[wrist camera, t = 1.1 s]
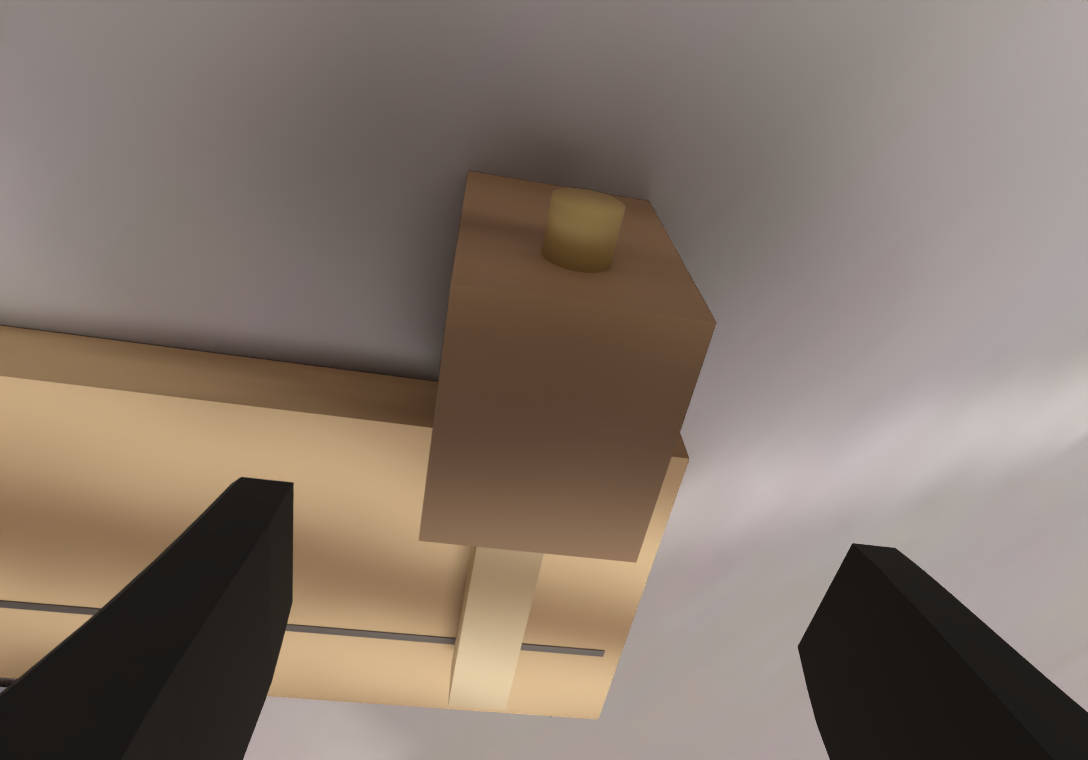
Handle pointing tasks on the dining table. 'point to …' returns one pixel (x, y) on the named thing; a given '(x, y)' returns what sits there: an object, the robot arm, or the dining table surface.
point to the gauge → (552, 399)
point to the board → (318, 518)
